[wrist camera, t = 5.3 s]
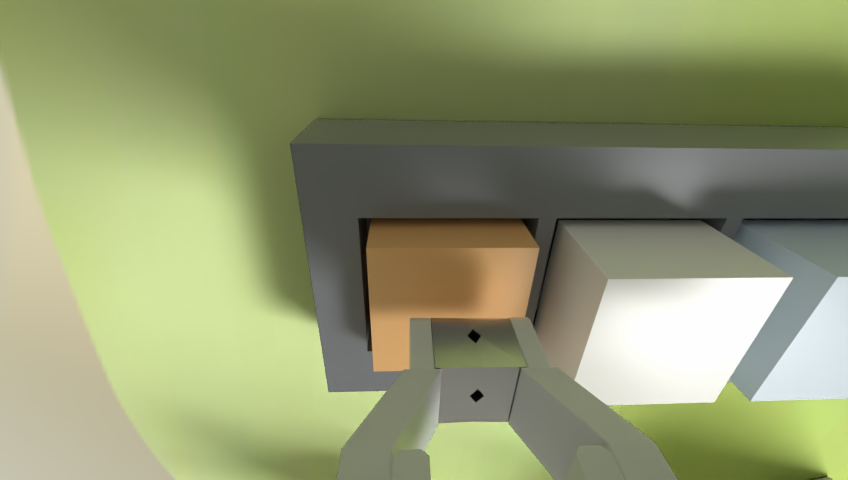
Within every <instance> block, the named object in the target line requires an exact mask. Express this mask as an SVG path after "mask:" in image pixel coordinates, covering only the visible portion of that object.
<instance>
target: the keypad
mask: <svg viewBox="0 0 848 480" xmlns="http://www.w3.org/2000/svg"><path fill="white" fill-rule="evenodd" d="M290 147H291V153H292V160H293V166H294V172H295V179H296V185H297V192H298V198H299V205H300V211H301V217H302V224H303V230H304V237H305V243H306V250H307V256H308V263H309V269H310V275H311V282H312V288H313V295H314V301H315V308H316V314H317V321H318V327H319V333H320V340H321V346H322V353H323V359H324V366H325V372H326V379H327V385H328V391H329V392H355V391H387V390H388V389H389V388H390V386H391V385H392V384H393V382H394V381H395V380H396V379H397V377H398V376H399V375H400V374H401V372H402V371H376V372H374V369H373V353H372V337H371V320H370V304H369V288H368V272H367V256H366V246H367V240H368V235H369V229H370V223H371V218H521V220H522V221H523V223H524V224H525V226H526V227H527V229H528V231H529V232H530V234H531V235H532V237H533V238H534V240H535V241H536V243H537V244H538V246H539V253H538V258H537V263H536V268H535V272H534V277H533V282H532V287H531V291H530V296H529V301H528V306H527V311H526V315H525V317H528V318H529V319H530V320H531V323H532V325H533V327H534V324H535V320H536V315H537V311H538V307H539V302H540V298H541V293H542V289H543V285H544V280H545V276H546V272H547V267H548V263H549V258H550V254H551V250H552V245H553V241H554V237H555V232H556V228H557V223H558V220H701V221H703V222H704V223H706V224H708V225H709V226H711V227H713V228H714V229H716V230H717V231H719V232H721V233H722V234H724V235H726V236H727V237H729V238H730V239H732V240H733V238H734V237H735V235H736V233H737V231H738V229H739V227H740V225H741V223H742V221H743V220H848V127H808V126H744V125H679V124H615V123H551V122H487V121H423V120H358V119H315V120H314V121H313V122H312V123H311V124H310V125H309V126H308V127H307V128H306V129H305V130H304V131H303V132H302V133H300V134H299V135H298V136H297V137H296V138H295V139H294V140H293V141H292V142H291V143H290ZM727 382H731V381H730V380H728V381H727Z"/></svg>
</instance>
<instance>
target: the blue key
mask: <svg viewBox="0 0 848 480" xmlns="http://www.w3.org/2000/svg"><path fill="white" fill-rule="evenodd" d="M733 240H734V241H735V242H737V243H739V244H740V245H742V246H743V247H745V248H747V249H748V250H750V251H751V252H753V253H755V254H756V255H758V256H760V257H761V258H763V259H764V260H766V261H768V262H769V263H771V264H773V265H774V266H776V267H777V268H779V269H781V270H782V271H784V272H785V273H787V274H789V275H790V276H792V277H793V279H792V281H791V282H790V284H789V285H788V287H787V288H786V290H785V292H784V293H783V295H782V296H781V298H780V300H779V301H778V303H777V304H776V306H775V307H774V309H773V311H772V312H771V314H770V315H769V317H768V318H767V320H766V322H765V323H764V325H763V326H762V328H761V329H760V331H759V333H758V334H757V336H756V337H755V339H754V340H753V342H752V344H751V345H750V347H749V348H748V350H747V351H746V353H745V355H744V356H743V358H742V359H741V361H740V362H739V364H738V366H737V367H736V369H735V370H734V372H733V373H732V375H731V377H730V378H729V380H730V381H731V382H732V383H733V384H734V385H735V386H736V387H737V388H738V389H739V390H740V391H741V392H742V393H743V394H744V395H745V396H746V397H747V398H748V399H749V401H777V400H811V399H845V398H848V220H743V221H742V223H741V225H740V227H739V229H738V231H737V233H736V235H735V237H734V238H733Z"/></svg>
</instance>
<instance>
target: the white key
mask: <svg viewBox="0 0 848 480" xmlns="http://www.w3.org/2000/svg"><path fill="white" fill-rule="evenodd" d="M792 279H793V277H792V276H790V275H789V274H787V273H785V272H784V271H782V270H781V269H779V268H777V267H776V266H774V265H773V264H771V263H769V262H768V261H766V260H764V259H763V258H761V257H760V256H758V255H756V254H755V253H753V252H751V251H750V250H748V249H747V248H745V247H743V246H742V245H740V244H739V243H737V242H735V241H734V240H732V239H730V238H729V237H727V236H726V235H724V234H722V233H721V232H719V231H717V230H716V229H714V228H713V227H711V226H709V225H708V224H706V223H704V222H703V221H701V220H558V223H557V228H556V232H555V237H554V241H553V245H552V250H551V254H550V258H549V263H548V267H547V272H546V276H545V280H544V285H543V289H542V293H541V298H540V302H539V307H538V311H537V315H536V320H535V324H534V329H535V332H536V334H537V336H538V338H539V341H540V343H541V345H542V347H543V350H544V352H545V354H546V356H547V359H548V361H549V363H550V365H551V367H558V368H559V369H560V370H562V371H563V372H564V373H565V374H567V375H568V376H569V377H571V378H572V379H573V380H575V381H576V382H577V383H578V384H580V385H581V386H582V387H584V388H585V389H586V390H588V391H589V392H590V393H591V394H593V395H594V396H595V397H597V398H598V399H599V400H601V401H602V402H603V403H604V404H606V405H639V404H674V403H708V402H715V400H716V399H717V397H718V396H719V394H720V392H721V391H722V389H723V388H724V386H725V385H726V383H727V381H728V380H729V378H730V377H731V375H732V373H733V372H734V370H735V369H736V367H737V366H738V364H739V362H740V361H741V359H742V358H743V356H744V355H745V353H746V351H747V350H748V348H749V347H750V345H751V344H752V342H753V340H754V339H755V337H756V336H757V334H758V333H759V331H760V329H761V328H762V326H763V325H764V323H765V322H766V320H767V318H768V317H769V315H770V314H771V312H772V311H773V309H774V307H775V306H776V304H777V303H778V301H779V300H780V298H781V296H782V295H783V293H784V292H785V290H786V288H787V287H788V285H789V284H790V282H791V281H792Z"/></svg>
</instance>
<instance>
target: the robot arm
mask: <svg viewBox="0 0 848 480" xmlns="http://www.w3.org/2000/svg"><path fill="white" fill-rule="evenodd" d="M472 421H474V422H509V425H510V426H511V427H512V428H513V430H514V431H515V432H516V433H517V435H518V436H519V437H520V438H521V439H522V441H523V442H524V443H525V444H526V445H527V447H528V448H529V449H530V450H531V452H532V453H533V454H534V455H535V456H536V458H537V459H538V460H539V461H540V462H541V464H542V465H543V466H544V467H545V469H546V470H547V471H548V472H549V473H550V475H551V476H552V477H553V478H554V479H555V480H678V479H677V478H676V476H675V474H674V473H673V471H672V469H671V468H670V466H669V464H668V463H667V461H666V460H665V458H664V456H663V455H662V453H661V451H660V450H659V448H658V446H657V445H656V443H655V442H654V441H653V440H651V439H650V438H649V437H647V436H646V435H645V434H643V433H642V432H641V431H640V430H638V429H637V428H636V427H634V426H633V425H632V424H630V423H629V422H628V421H627V420H625V419H624V418H623V417H621V416H620V415H619V414H617V413H616V412H615V411H614V410H612V409H611V408H610V407H608V406H607V405H606V404H604V403H603V402H602V401H601V400H599V399H598V398H597V397H595V396H594V395H593V394H591V393H590V392H589V391H588V390H586V389H585V388H584V387H582V386H581V385H580V384H578V383H577V382H576V381H575V380H573V379H572V378H571V377H569V376H568V375H567V374H565V373H564V372H563V371H562V370H560V369H559V368H558V367H551V365H550V363H549V361H548V359H547V356H546V354H545V352H544V350H543V347H542V345H541V343H540V341H539V338H538V336H537V334H536V332H535V329H534V327H533V325H532V323H531V320H530V319H529V318H528V317H510V318H410V331H409V369H404V370H403V371H402V372H401V374H400V375H399V376H398V377H397V379H396V380H395V381H394V382H393V384H392V385H391V386H390V388H389V389H388V390H387V391H386V393H385V394H384V395H383V397H382V398H381V399H380V400H379V402H378V403H377V404H376V405H375V407H374V408H373V409H372V411H371V412H370V413H369V414H368V416H367V417H366V418H365V419H364V421H363V422H362V423H361V425H360V426H359V427H358V428H357V430H356V431H355V432H354V434H353V435H352V436H351V437H350V439H349V440H348V441H347V442H346V444H345V445H344V446H343V448H342V449H341V455H340V461H339V467H338V473H337V479H336V480H431V476H430V460H429V455H428V454H426V453H425V450H426V448H427V446H428V444H429V442H430V440H431V438H432V436H433V434H434V432H435V430H436V428H437V426H438V423H452V422H472Z"/></svg>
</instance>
